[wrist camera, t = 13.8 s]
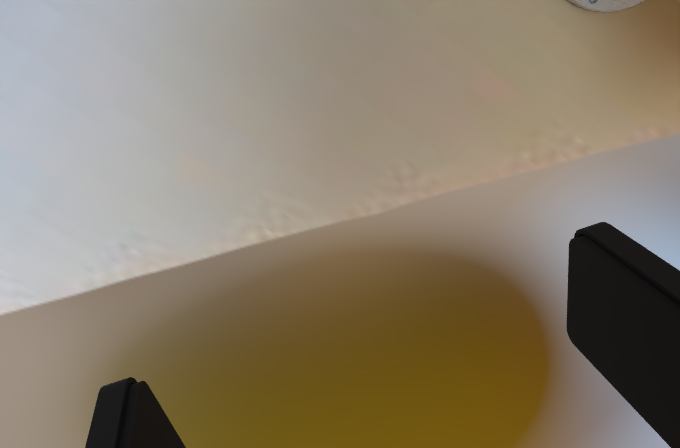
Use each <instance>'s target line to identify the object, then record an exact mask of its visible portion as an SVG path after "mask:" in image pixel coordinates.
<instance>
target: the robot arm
mask: <svg viewBox="0 0 680 448" xmlns="http://www.w3.org/2000/svg"><path fill="white" fill-rule="evenodd" d="M569 1H570V2H572V3H573V4H575V5H576V6H578V7H581V8H584V9H587V10H591V11H599V12H615V11H620V10H624V9H627V8H631V7H633V6H635V5H637V4H639V3H641V2H643V1H645V0H569ZM567 332H568V335H569V338H570V340H571V341H572V343H573V344H574V345H575V346H576V347H577V348H578V350H579V351H580V352H581V353H582V354H583V355H584V356H585V357H586V358H587V359H588V360H589V361H590V362H591V363H592V364H593V365H594V367H595V368H596V369H597V370H598V371H599V372H600V373H601V374H602V375H603V376H604V377H605V378H606V379H607V380H608V381H609V382H610V383H611V384H612V386H613V387H614V388H615V389H616V390H617V391H618V392H619V393H620V394H621V395H622V396H623V397H624V398H625V399H626V400H627V401H628V403H630V404H631V406H632V407H633V408H634V409H635V410H636V411H637V412H638V413H639V414H640V415H641V416H642V417H643V418H644V419H645V421H646V422H647V423H648V424H649V425H650V426H651V427H652V428H653V429H654V430H655V431H656V432H657V433H658V434H659V435H660V436H661V437H662V439H663V440H664V441H665V442H666V443H667V444H668V445H669V446H670V447H671V448H680V271H679V270H678V269H676V268H675V267H673V266H672V265H670V264H669V263H667V262H665V261H664V260H663V259H661V258H660V257H658V256H657V255H655V254H654V253H652V252H651V251H649V250H647V249H646V248H645V247H643V246H642V245H640V244H639V243H637V242H636V241H634V240H633V239H631V238H630V237H628V236H627V235H625V234H624V233H622V232H621V231H619V230H618V229H616V228H615V227H613V226H612V225H610V224H608V223H606V222H600V223H597V224H594V225H591V226H588V227H585V228H582V229H579V230H577V231H576V233H575V236H574V238H573V239H571V241H570V243H569V266H568V300H567ZM85 448H186V447H185V446H184V444H183V442H182V441H181V439H180V437H179V436H178V434H177V432H176V431H175V429H174V427H173V426H172V424H171V423H170V421H169V419H168V417H167V416H166V414H165V413H164V411H163V409H162V408H161V406H160V404H159V403H158V401H157V399H156V398H155V396H154V394H153V393H152V391H151V389H150V388H149V386H148V384H147V383H146V382H145V381H141V382H137V381H136V380H135V379H134V378H131V377H130V378H127V379H124V380H121V381H117V382H115V383H111V384H109V385H106V386H103V387H102V388H101V389H100V391H99V394H98V398H97V402H96V406H95V410H94V414H93V418H92V422H91V427H90V430H89V435H88V439H87V443H86V447H85Z"/></svg>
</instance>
